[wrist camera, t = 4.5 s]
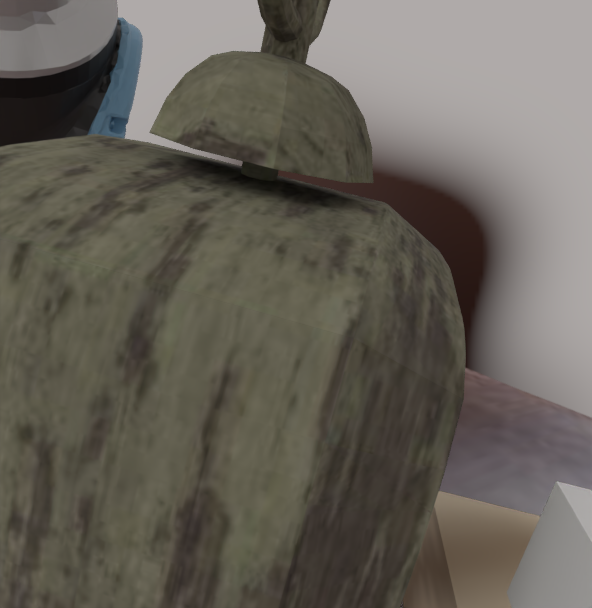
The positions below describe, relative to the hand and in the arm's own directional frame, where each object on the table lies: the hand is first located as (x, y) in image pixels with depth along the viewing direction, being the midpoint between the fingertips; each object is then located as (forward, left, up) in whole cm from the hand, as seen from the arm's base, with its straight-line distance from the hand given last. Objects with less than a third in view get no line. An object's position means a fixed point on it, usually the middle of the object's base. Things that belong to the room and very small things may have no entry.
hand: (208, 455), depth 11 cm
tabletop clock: (-4, 0, -13) cm, 14 cm away
